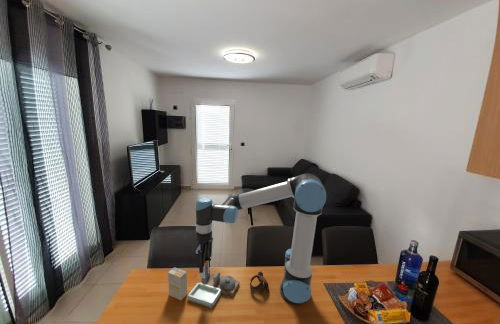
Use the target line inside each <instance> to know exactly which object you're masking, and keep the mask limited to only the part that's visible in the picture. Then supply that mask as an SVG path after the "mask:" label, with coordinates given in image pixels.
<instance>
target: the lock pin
mask: <svg viewBox="0 0 500 324" xmlns="http://www.w3.org/2000/svg"><path fill="white" fill-rule="evenodd" d="M208 263H209V264H210V261H209V260H208V259H205V260H204V265H205V278H201V283H207V282H208Z"/></svg>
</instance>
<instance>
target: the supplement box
mask: <svg viewBox="0 0 500 324" xmlns="http://www.w3.org/2000/svg"><path fill="white" fill-rule="evenodd" d="M167 280H168V281H167V283H168V284H167V285H168V296H169V297H171V298H173V299H175V300H178V301H179V302H182V301H183V300H184V299H185V298H186V297H188V282H187V281H188V277H187V271H185V270H183V269H180V268H177V267H173V268H172V269H170V270H169V271H167Z"/></svg>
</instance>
